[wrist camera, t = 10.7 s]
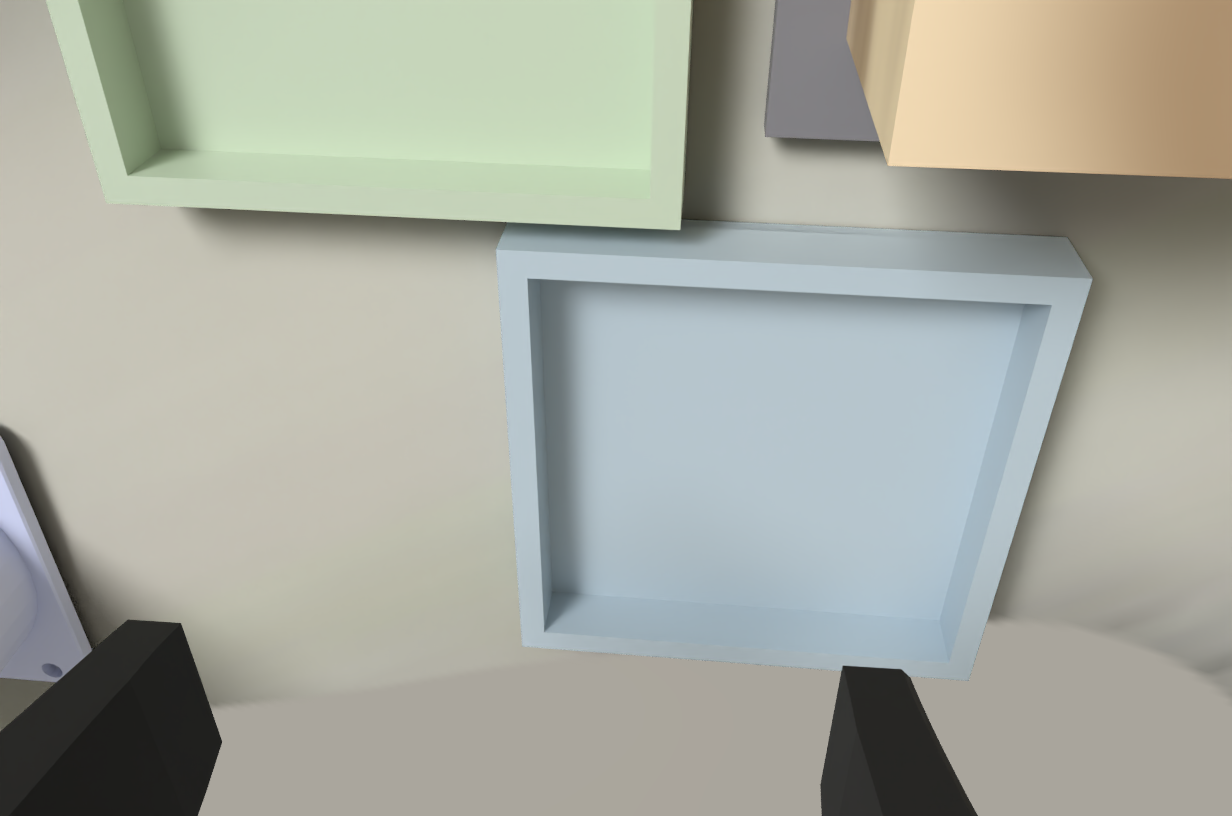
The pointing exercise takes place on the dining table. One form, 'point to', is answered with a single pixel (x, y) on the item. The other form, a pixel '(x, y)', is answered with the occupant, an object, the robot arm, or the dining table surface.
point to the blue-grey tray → (775, 435)
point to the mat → (815, 75)
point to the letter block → (1049, 84)
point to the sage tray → (388, 106)
